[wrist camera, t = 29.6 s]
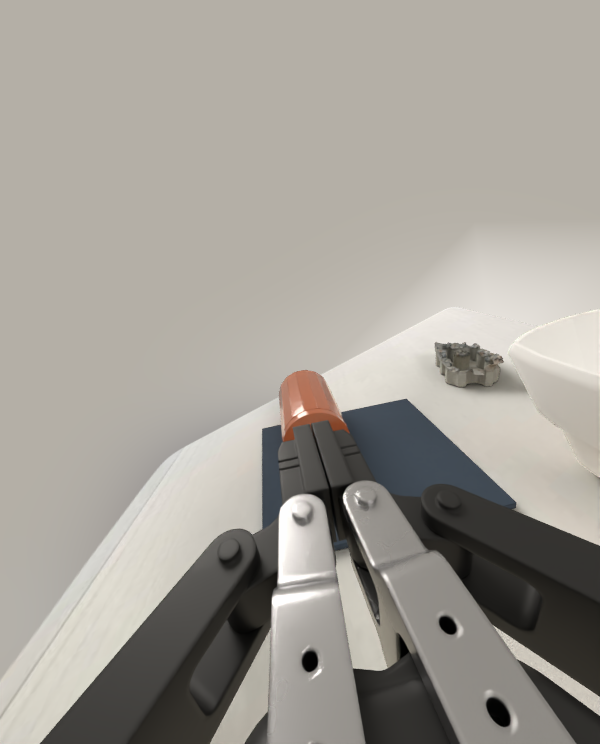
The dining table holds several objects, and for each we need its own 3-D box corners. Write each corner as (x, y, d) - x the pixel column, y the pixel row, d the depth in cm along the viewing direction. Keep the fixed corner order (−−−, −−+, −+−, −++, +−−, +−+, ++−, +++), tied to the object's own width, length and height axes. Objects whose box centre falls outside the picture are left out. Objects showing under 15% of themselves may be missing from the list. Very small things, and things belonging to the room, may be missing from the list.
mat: (264, 567, 21) (262, 562, 21) (263, 432, 37) (262, 428, 37) (515, 508, 22) (516, 502, 22) (406, 402, 39) (406, 398, 38)
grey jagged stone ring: (503, 387, 38) (507, 359, 37) (442, 388, 41) (443, 362, 39) (481, 358, 47) (483, 335, 46) (432, 360, 50) (433, 338, 48)
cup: (277, 420, 26) (275, 375, 36) (289, 475, 28) (284, 418, 39) (346, 406, 26) (325, 365, 36) (353, 462, 29) (331, 409, 39)
